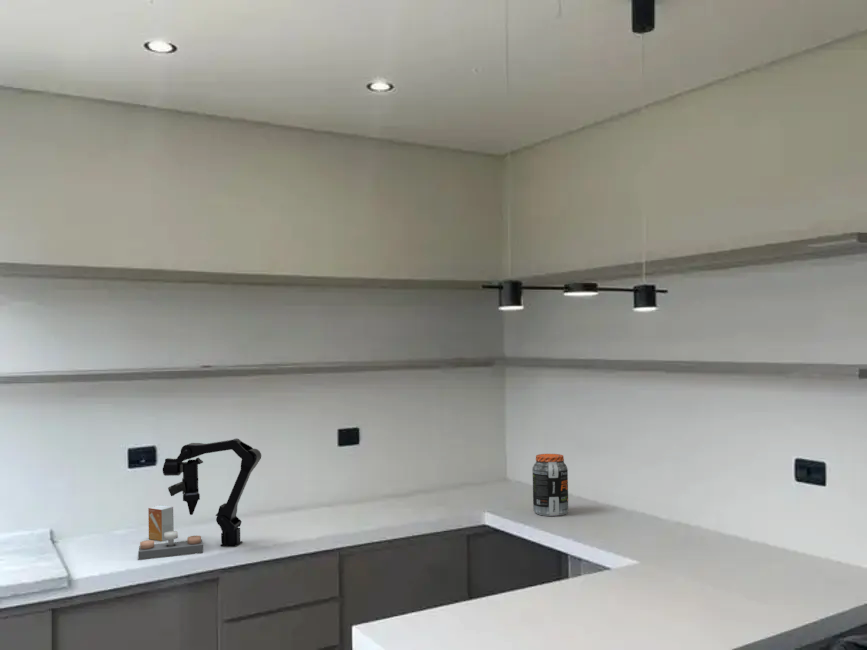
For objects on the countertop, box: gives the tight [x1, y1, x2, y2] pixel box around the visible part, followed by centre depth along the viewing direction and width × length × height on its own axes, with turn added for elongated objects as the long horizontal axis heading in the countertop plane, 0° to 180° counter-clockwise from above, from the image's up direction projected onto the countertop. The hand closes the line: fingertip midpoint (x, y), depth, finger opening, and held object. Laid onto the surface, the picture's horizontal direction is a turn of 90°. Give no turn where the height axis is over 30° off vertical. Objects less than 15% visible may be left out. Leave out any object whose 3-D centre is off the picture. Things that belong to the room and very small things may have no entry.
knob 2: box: [186, 535, 202, 544], centre depth 292 cm, size 5×5×5 cm
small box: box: [147, 504, 175, 542], centre depth 312 cm, size 8×6×13 cm
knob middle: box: [164, 530, 179, 547], centre depth 290 cm, size 5×5×5 cm
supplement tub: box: [532, 453, 569, 517], centre depth 341 cm, size 16×16×26 cm
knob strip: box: [137, 538, 204, 561], centre depth 290 cm, size 23×9×3 cm, turn 109°
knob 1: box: [139, 539, 155, 549], centre depth 287 cm, size 5×5×5 cm
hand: (191, 514), depth 301 cm, fingers closed
